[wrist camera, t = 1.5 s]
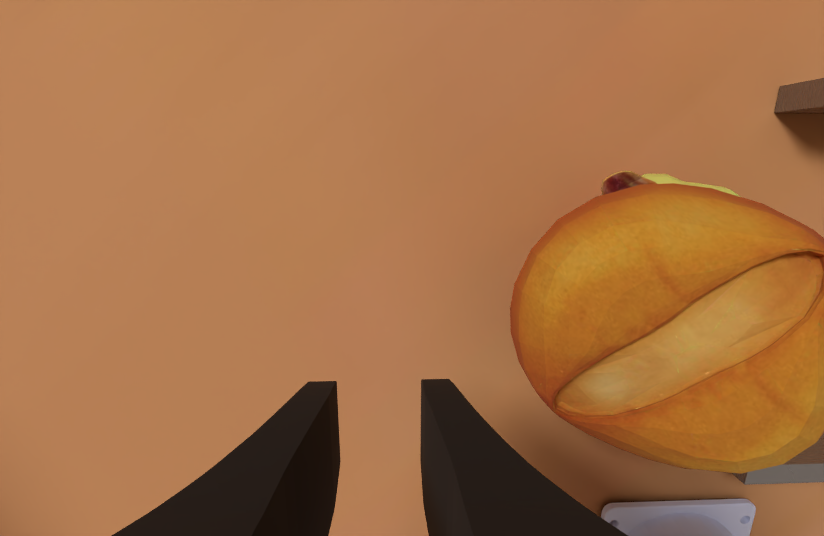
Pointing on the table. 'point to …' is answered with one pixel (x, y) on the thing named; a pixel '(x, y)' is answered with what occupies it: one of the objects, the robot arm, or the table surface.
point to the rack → (820, 457)
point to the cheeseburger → (678, 324)
